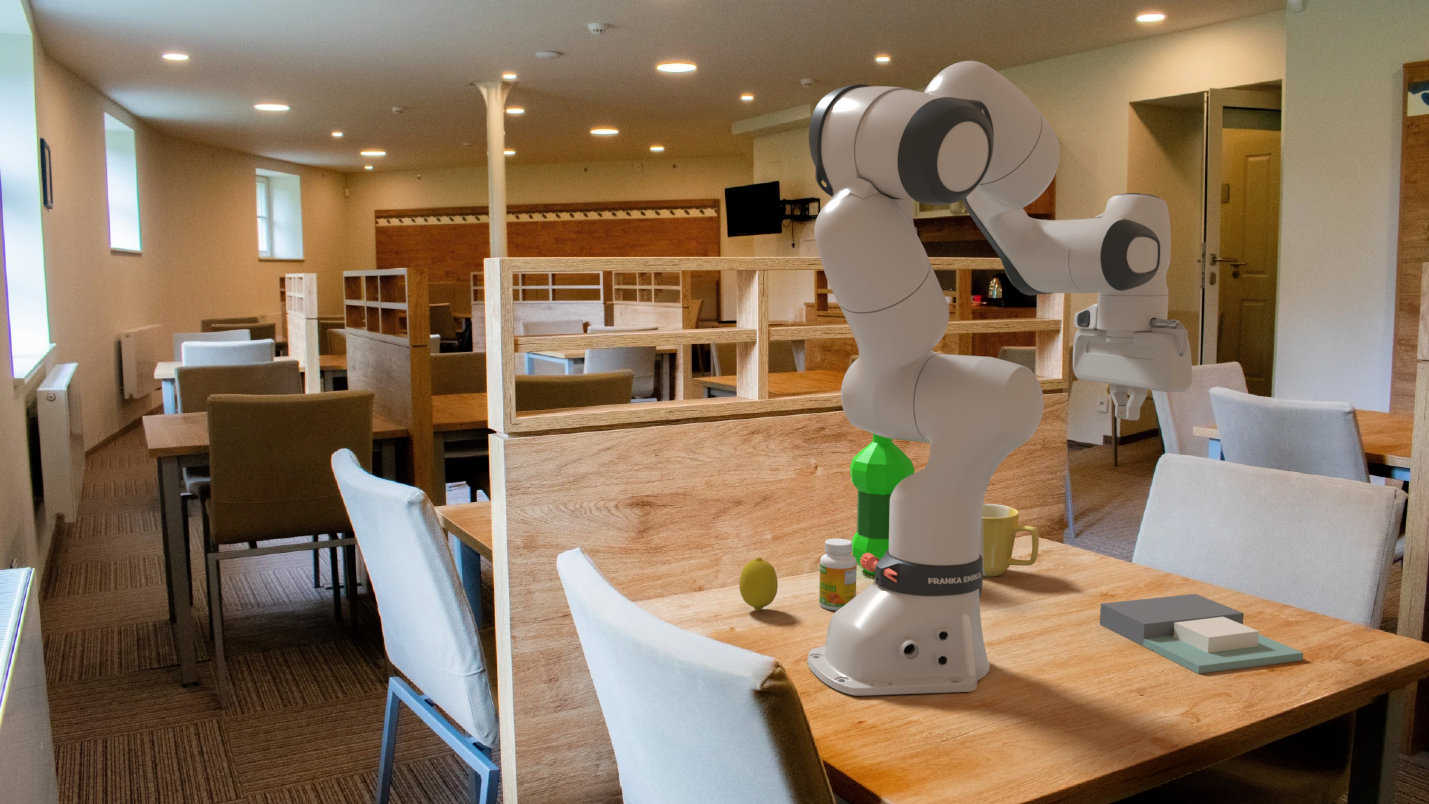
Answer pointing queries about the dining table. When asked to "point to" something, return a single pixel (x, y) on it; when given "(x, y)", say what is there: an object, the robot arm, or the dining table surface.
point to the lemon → (758, 583)
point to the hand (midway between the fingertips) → (1126, 419)
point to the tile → (1216, 634)
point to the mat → (1222, 654)
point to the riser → (1160, 615)
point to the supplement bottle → (837, 574)
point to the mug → (1002, 539)
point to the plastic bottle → (876, 494)
